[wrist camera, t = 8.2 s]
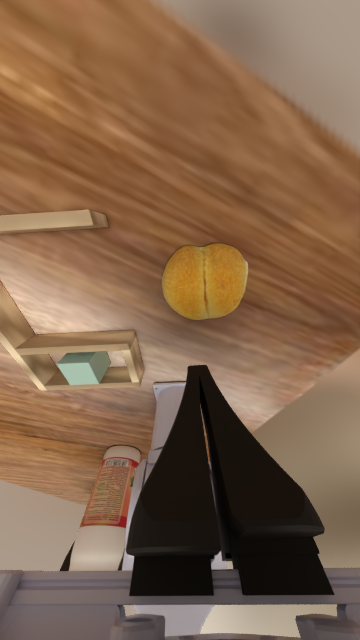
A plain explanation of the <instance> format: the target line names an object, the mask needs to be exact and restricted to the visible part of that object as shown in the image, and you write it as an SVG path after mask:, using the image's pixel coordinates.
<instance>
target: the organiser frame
mask: <svg viewBox="0 0 360 640" xmlns="http://www.w3.org/2000/svg"><path fill="white" fill-rule="evenodd" d="M108 227H109V225H108V221H107V217H106V215H105V214H101V213H98V212H95V211H92V210H76V211H61V212H46V213H31V214H16V215H1V216H0V234H14V233H30V232H46V231H61V230H77V229H92V228H108ZM0 342H1V343H2V344H3V346H4V347H5V348H6V349H7V350H8V352H9V353H10V354H11V355H12V357H13V358H14V359H15V360H16V361H17V363H18V364H19V365H20V366H21V367H22V369H23V370H24V371H25V372H26V373H27V375H28V376H29V377H30V378H31V380H32V381H33V382H34V383H35V384H36V386H37V387H38V388H39V389H40V390H41V391H43V390H67V389H92V388H117V387H140V386H141V382H142V378H143V374H144V367H143V362H142V358H141V354H140V350H139V346H138V342H137V338H136V334H135V330H122V331H102V332H81V333H61V334H40V335H35V333H34V332H33V330H32V329H31V327H30V326H29V324H28V323H27V321H26V320H25V318H24V317H23V315H22V314H21V312H20V310H19V309H18V307H17V306H16V304H15V303H14V301H13V300H12V298H11V297H10V295H9V294H8V292H7V291H6V289H5V288H4V286H3V285H2V283H1V282H0ZM119 350H122V353H123V356H124V359H125V362H126V365H127V367H111V368H108V369H107V370H106V372H105V374H104V376H103V378H102V380H101V381H100V383H99V384H85V385H70V384H69V382H68V381H67V379H66V378H65V376H64V375H63V373H62V372H61V370H58V368H57V367H56V365H55V364H54V362H53V361H52V359H51V358H50V356H49V355H48V354H54V353H75V352H97V351H119Z"/></svg>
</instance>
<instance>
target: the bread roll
mask: <svg viewBox="0 0 360 640" xmlns="http://www.w3.org/2000/svg"><path fill="white" fill-rule="evenodd" d="M247 275H248V263H247V262H246V261H245V260H244V259H243V257H242V255H241V253H240V252H239V251H238V250H237V249H236V248H234V247H232V246H229V245H226V244H221V243H218V244H211V245H208V246H205V247H195V246H184V247H182V248H180V249H179V250H177V251H176V252H175V253H174V254H173V256H172V257H171V258H170V260H169V261H168V263H167V265H166V268H165V270H164V273H163V278H162V289H163V294H164V297H165V299H166V301H167V303H168V304H169V305H170V307H171V308H172V309H173V310H175V311H176V312H177V313H179V314H180V315H182V316H184V317H186V318H189V319H193V320H201V319H207V318H218V317H222V316H224V315H227V314H229V313H230V312H232V311H233V310H234V309H236V308H237V306H238V305H239V303H240V301H241V299H242V296H243V294H244V292H245V286H246V282H247Z"/></svg>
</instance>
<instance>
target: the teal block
mask: <svg viewBox="0 0 360 640" xmlns="http://www.w3.org/2000/svg"><path fill="white" fill-rule="evenodd" d="M110 363H111V362H110V359H109V356H108V354H107V351H97V352H75V353H67V354H66V355H65V356H64V357H63V358H62V359H61V360H60V361H59V362H58V363H57V366H58V367H59V369H60V370H61V372H62V373H63V375H64V376H65V378H66V379H67V381H68V382H69V384H70V385H85V384H99V383H100V381H101V380H102V378H103V376H104V374H105V372H106V370H107V369H108V367H109V365H110Z"/></svg>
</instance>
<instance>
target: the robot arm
mask: <svg viewBox="0 0 360 640" xmlns="http://www.w3.org/2000/svg"><path fill="white" fill-rule="evenodd" d="M153 389H154V393H155V398H156V402H157V406H156V414H155V421H154V429H153V436H152V444H151V450H150V451H149V455H148V462H147V460H146V459H144V460H142V462H141V463H140V464H139V465H138V467H137V470H136V473H135V478H134V482H133V487H132V492H131V498H130V504H129V510H128V517H127V524H126V536H125V538H126V544H125V552H124V559H123V566H122V571H22V570H0V640H360V568H323V566H322V564H321V562H320V559H319V557H318V555H317V554H319V550H318V548H317V545H316V543H315V541H314V539H313V537H314V536H317V535H320V534H323V533H324V526H323V524H322V522H321V520H320V518H319V516H318V514H317V512H316V511H315V509H314V507H313V505H312V504H311V502H310V500H309V499H308V497H307V496H306V494H305V492H304V491H303V489H302V488H301V487H300V486H299V485H298V484H297V483H296V482H295V481H294V480H293V479H292V478H291V477H290V476H289V475H288V474H287V473H286V472H285V471H284V470H283V469H282V468H281V467H280V466H279V465H278V463H277V462H276V461H275V460H274V459H273V458H272V457H271V456H270V455H269V454H268V453H267V452H266V450H265V449H264V448H263V447H262V446H261V445H260V443H259V442H258V441H257V440H256V439H255V438H254V437H253V435H252V434H251V433H250V432H249V431H248V429H247V428H246V427H245V426H244V424H243V423H242V422H241V421H240V419H239V418H238V417H237V415H236V414H235V413H234V411H233V410H232V408H231V407H230V405H229V404H228V403H227V401H226V400H225V398H224V396H223V395H222V393H221V392H220V390H219V388H218V387H217V385H216V383H215V381H214V379H213V378H212V376H211V374H210V371H209V369H208V367H207V365H196V366H188V373H187V380H186V382H174V383H155V384H153ZM200 404H201V407H200ZM201 409H202V414H203V419H204V424H205V429H206V434H207V440H208V447H209V455H210V462H208V457H207V450H206V443H205V436H204V430H203V423H202V415H201ZM226 561H232V562H233V569H226V568H227V566H226ZM232 604H233V605H236V604H237V605H246V604H247V605H254V604H255V605H257V604H337V617H335V616H331V615H325V614H308V615H300V616H296V623H297V626H298V630H299V633H300V636H301V638H298V637H283V636H270V635H256V634H233V633H231V634H230V633H229V634H228V633H221V634H220V633H217V634H200V631H201V629H202V626H203V624H204V622H205V620H206V618H207V617H208V615H209V613H210V611H211V610H212V608H213V606H214V605H232ZM123 605H133V606H134V607H135V609H136V611H137V613H138V614H135V615H130V616H127V617H126V616H125V609H124V606H123Z"/></svg>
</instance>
